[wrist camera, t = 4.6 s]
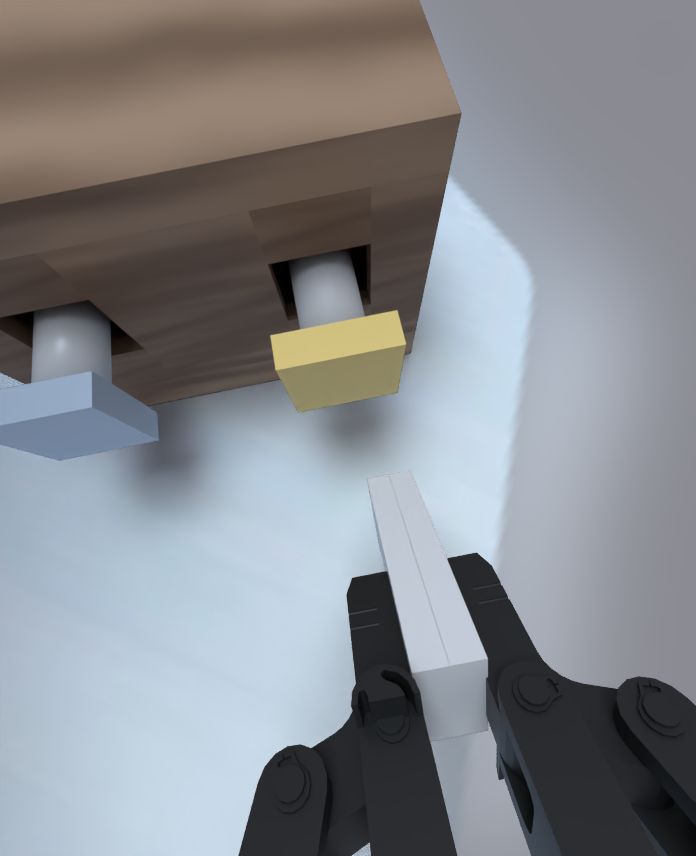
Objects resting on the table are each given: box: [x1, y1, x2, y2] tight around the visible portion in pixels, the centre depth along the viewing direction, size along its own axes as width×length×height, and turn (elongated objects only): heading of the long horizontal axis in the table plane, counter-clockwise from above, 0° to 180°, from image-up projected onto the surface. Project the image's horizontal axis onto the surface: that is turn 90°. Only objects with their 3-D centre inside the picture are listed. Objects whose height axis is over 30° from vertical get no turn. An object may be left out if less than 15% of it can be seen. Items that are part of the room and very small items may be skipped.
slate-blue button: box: [0, 300, 159, 461], centre depth 19 cm, size 8×5×5 cm, turn 11°
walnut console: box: [0, 0, 461, 406], centre depth 21 cm, size 10×22×16 cm, turn 101°
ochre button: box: [270, 248, 406, 413], centre depth 19 cm, size 8×5×5 cm, turn 11°
